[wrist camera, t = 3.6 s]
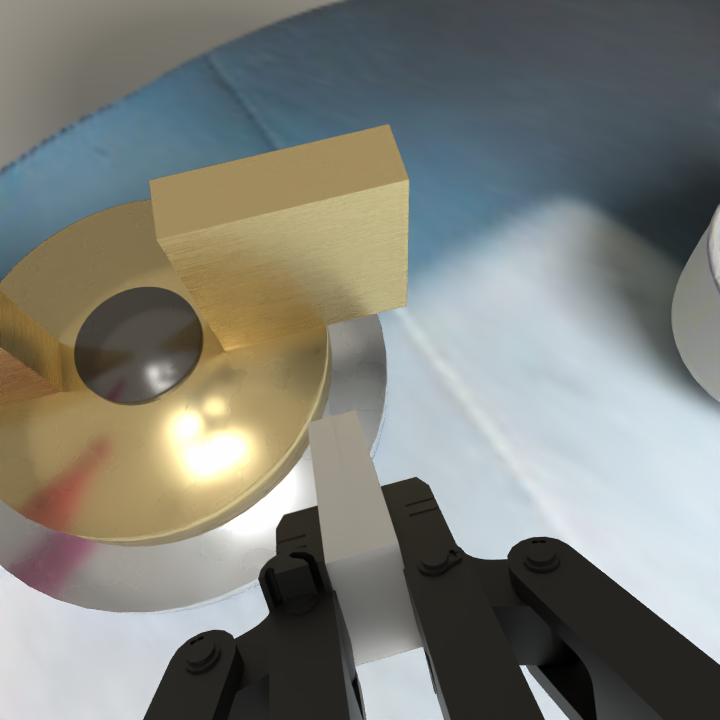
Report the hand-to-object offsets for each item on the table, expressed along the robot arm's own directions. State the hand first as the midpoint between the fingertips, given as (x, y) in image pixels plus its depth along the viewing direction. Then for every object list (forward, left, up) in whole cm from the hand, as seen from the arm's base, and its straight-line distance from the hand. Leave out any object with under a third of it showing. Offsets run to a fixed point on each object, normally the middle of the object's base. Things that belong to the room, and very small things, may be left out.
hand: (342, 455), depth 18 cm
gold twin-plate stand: (0, -11, -8) cm, 14 cm away
